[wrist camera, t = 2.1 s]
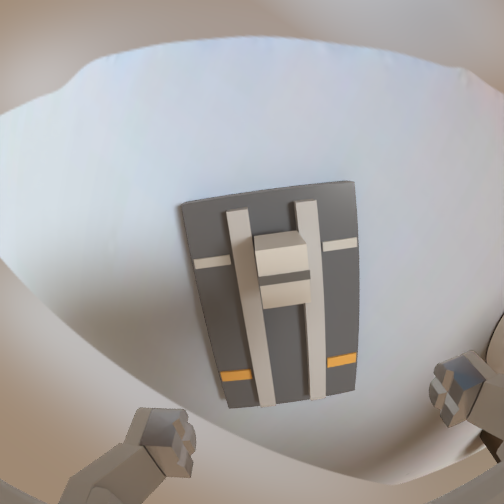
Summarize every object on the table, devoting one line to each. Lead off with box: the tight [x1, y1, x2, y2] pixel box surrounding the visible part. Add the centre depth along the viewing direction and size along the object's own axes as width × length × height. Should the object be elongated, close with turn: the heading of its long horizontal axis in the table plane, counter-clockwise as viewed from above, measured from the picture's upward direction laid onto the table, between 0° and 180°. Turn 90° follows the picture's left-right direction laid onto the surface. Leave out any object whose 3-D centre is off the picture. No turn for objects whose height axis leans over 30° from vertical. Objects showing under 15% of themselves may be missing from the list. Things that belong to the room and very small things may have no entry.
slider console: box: [181, 181, 359, 408], centre depth 26 cm, size 14×22×3 cm, turn 8°
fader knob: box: [254, 230, 311, 309], centre depth 21 cm, size 3×4×5 cm
